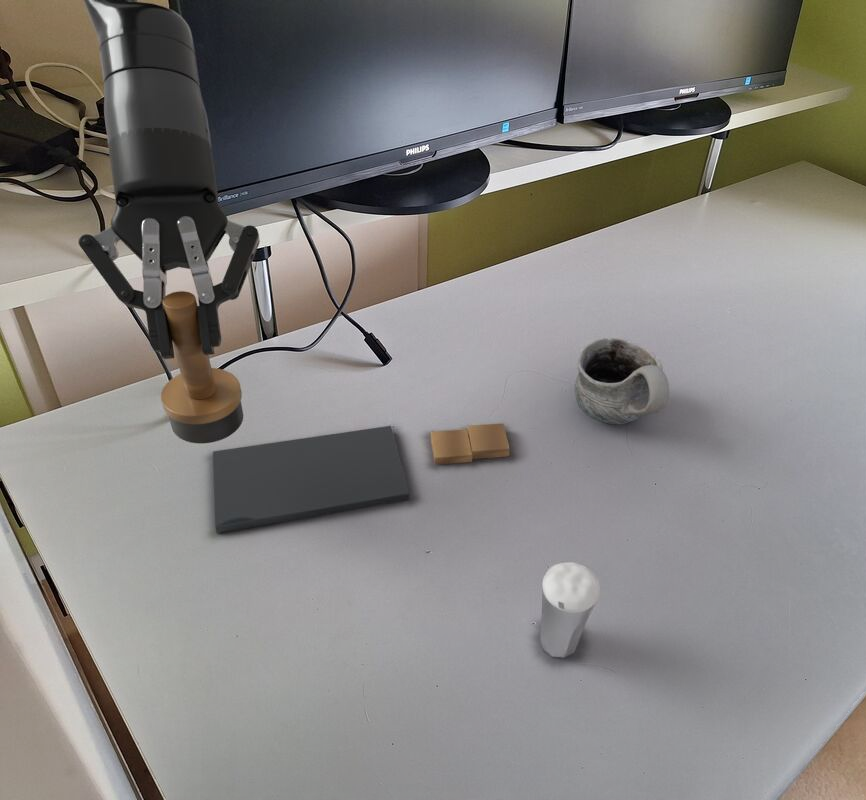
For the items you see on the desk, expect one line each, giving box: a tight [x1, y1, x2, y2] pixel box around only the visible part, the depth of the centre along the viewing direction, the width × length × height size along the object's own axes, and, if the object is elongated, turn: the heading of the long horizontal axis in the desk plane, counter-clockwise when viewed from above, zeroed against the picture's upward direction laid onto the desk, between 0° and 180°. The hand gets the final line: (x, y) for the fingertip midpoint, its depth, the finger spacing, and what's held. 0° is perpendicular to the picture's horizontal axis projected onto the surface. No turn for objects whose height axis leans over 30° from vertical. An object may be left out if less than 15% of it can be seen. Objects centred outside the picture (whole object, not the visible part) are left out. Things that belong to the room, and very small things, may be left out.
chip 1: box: [430, 428, 473, 466], centre depth 81 cm, size 4×4×1 cm
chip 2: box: [466, 423, 510, 460], centre depth 82 cm, size 4×4×1 cm
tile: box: [212, 425, 410, 534], centre depth 76 cm, size 18×10×1 cm, turn 109°
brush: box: [160, 290, 244, 445], centre depth 64 cm, size 6×6×13 cm
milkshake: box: [539, 561, 601, 659], centre depth 62 cm, size 4×5×10 cm
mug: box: [574, 336, 670, 425], centre depth 85 cm, size 10×12×10 cm
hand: (188, 354), depth 61 cm, fingers closed on brush, 2 cm apart
